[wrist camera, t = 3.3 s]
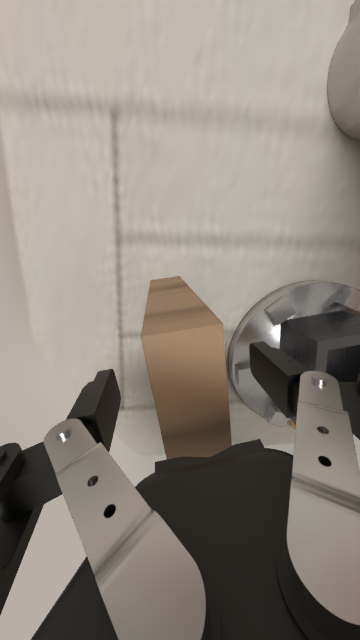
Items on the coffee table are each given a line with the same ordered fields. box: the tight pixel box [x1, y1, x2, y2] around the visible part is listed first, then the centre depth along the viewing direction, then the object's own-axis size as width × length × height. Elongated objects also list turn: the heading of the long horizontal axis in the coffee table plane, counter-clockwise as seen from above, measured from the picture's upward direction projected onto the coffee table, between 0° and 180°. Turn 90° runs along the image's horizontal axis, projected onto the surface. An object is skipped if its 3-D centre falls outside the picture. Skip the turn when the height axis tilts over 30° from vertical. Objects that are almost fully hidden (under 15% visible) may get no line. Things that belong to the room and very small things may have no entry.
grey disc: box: [228, 280, 360, 429], centre depth 23 cm, size 19×18×7 cm
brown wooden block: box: [141, 276, 232, 459], centre depth 16 cm, size 7×3×15 cm, turn 8°
